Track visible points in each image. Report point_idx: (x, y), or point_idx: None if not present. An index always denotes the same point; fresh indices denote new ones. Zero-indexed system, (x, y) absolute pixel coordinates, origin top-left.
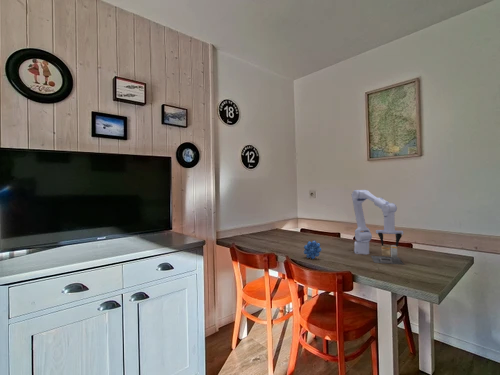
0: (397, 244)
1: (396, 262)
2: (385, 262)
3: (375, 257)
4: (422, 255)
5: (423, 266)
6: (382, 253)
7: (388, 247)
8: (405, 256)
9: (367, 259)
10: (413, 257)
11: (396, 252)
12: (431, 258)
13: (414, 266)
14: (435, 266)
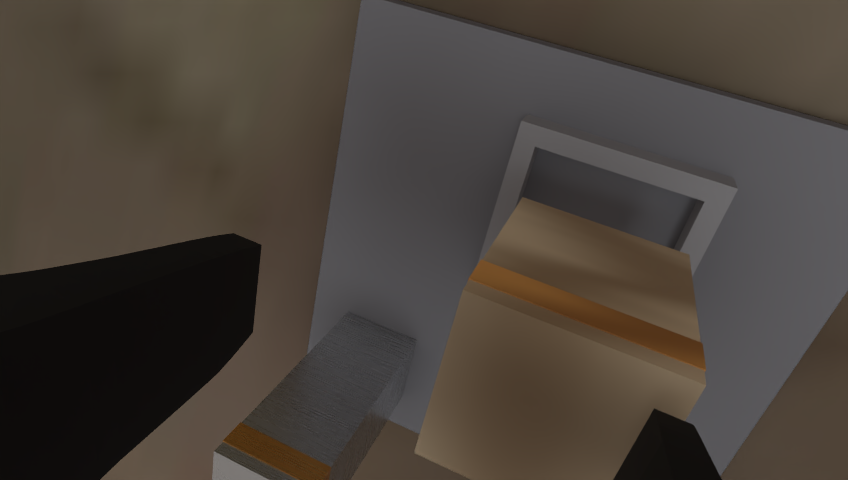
0: (186, 250)
1: (436, 141)
2: (647, 150)
3: None
4: None
5: (126, 13)
6: (690, 273)
7: (506, 299)
8: (207, 434)
9: (826, 448)
10: None
11: (302, 375)
12: None
13: (232, 7)
14: (8, 18)
